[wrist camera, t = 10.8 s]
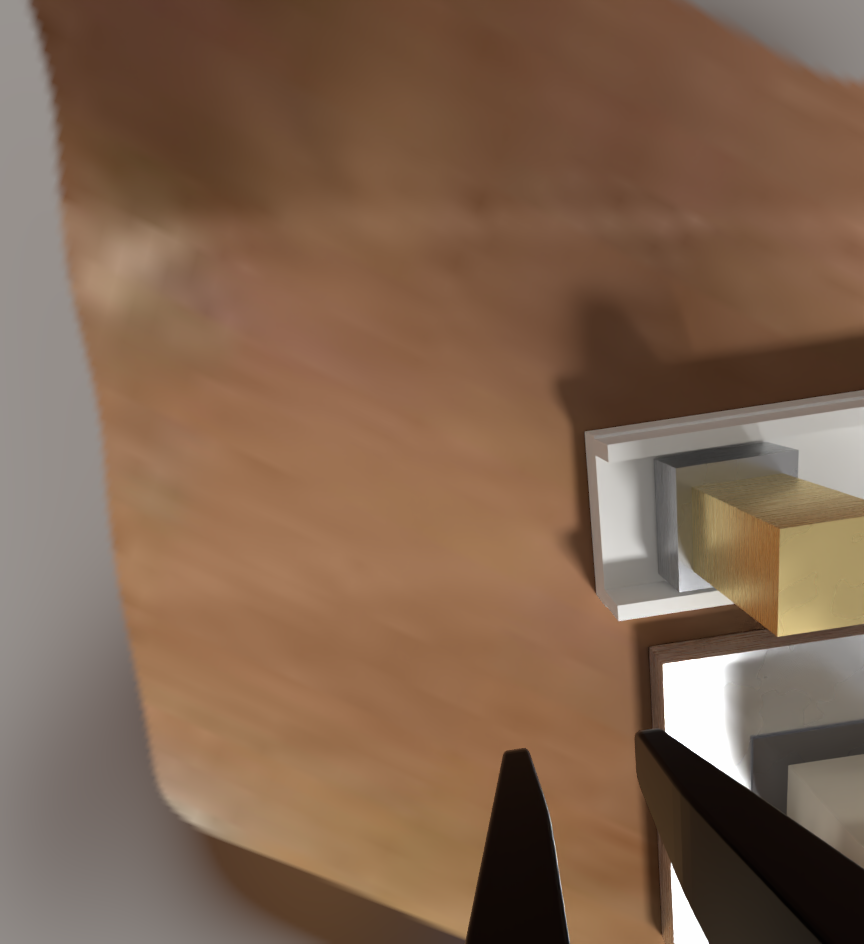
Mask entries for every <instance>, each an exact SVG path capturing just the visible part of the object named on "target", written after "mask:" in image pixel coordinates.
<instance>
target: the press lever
mask: <svg viewBox="0 0 864 944" xmlns="http://www.w3.org/2000/svg"><path fill="white" fill-rule="evenodd" d="M798 457H799V450H797V449H793V448H789V447H785V446H781V445H777V444H773V443H769V442H762V443H756V444H749V445H742V446H736V447H729V448H722V449H716V450H709V451H702V452H695V453H689V454H682V455H675V456H669V457H662V458H655V459H654V478H655V503H656V528H657V553H658V574H659V575H660V576H662V577H663V578H664V579H665V580H666V581H667V582H668V583H669V584H671V585H672V586H673V587H674V588H675V589H676V590H677V591H678V592H685V591H692V590H699V589H705V588H712V587H714V588H715V589H717V590H718V591H719V592H720V593H722V594H723V595H724V596H726V597H727V598H728V599H729V600H731V601H732V602H733V603H735V604H736V605H737V606H738V607H740V608H741V609H742V610H744V611H745V612H746V613H748V614H749V615H750V616H751V617H753V618H754V619H755V620H757V621H758V622H759V623H760V624H762V625H763V626H764V627H766V628H767V629H768V630H769V631H771V632H772V633H773V634H775V635H776V636H777V637H780V636H786V635H793V634H800V633H806V632H813V631H820V630H826V629H833V628H840V627H846V626H853V625H859V624H864V499H861V498H858V497H855V496H852V495H849V494H846V493H843V492H840V491H837V490H833V489H830V488H827V487H824V486H821V485H818V484H815V483H812V482H809V481H806V480H802V479H799V478H798Z"/></svg>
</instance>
